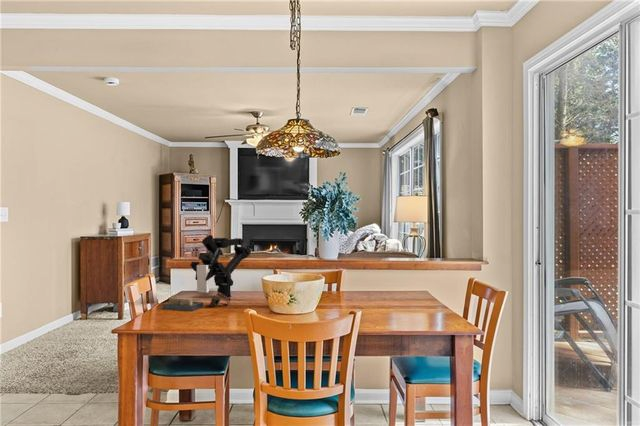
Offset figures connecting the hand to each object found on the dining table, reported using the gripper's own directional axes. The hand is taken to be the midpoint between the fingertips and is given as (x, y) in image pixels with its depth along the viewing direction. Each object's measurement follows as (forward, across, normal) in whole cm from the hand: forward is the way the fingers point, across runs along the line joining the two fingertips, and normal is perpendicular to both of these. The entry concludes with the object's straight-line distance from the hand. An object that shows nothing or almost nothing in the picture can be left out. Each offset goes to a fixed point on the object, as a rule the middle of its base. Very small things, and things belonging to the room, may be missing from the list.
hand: (201, 279), depth 243 cm
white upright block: (+4, 0, +6) cm, 7 cm away
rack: (+19, 0, -2) cm, 19 cm away
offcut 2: (+20, +3, -4) cm, 21 cm away
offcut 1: (+20, -3, -4) cm, 21 cm away
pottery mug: (+12, +14, +6) cm, 19 cm away
